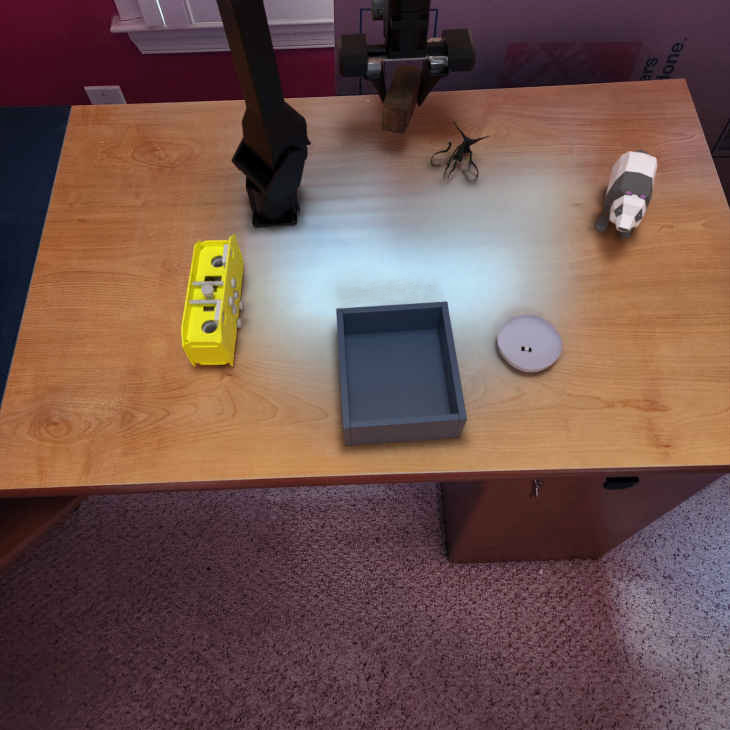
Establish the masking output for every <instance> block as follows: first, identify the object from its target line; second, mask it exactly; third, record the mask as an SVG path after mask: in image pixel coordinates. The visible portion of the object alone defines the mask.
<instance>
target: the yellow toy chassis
mask: <svg viewBox="0 0 730 730" xmlns="http://www.w3.org/2000/svg"><path fill="white" fill-rule="evenodd" d="M244 269H245V261H244V258H243V255H242V252H241V248H240V245H239V243H238V238H237V236H236V233H233V234H232V235H230V236H229V238H228V240H227V239H216V240H215V239H211V240H209V239H208V240H207V239H206V240H205V241H202V240H201V239H199V240H198V241H197V242H196V243H194V245H193V252H192V258H191V264H190V271H189V277H188V283H187V288H186V295H185V300H184V307H183V314H182V320H181V326H180V333H181V347H182V349H183V351H184V353H185V354H186V356H187V358H188V360H189V362H190V364H191V365H192V367H194V368H196V364H199V365H201V366H220V365H221V366H222V365H223V366H224V365H226V364H229V365H230V367H234V361H235V353H236V351H235V350H236V344H237V343H236V341H237V333H238V329H240V328H241V329H242V327H243V319H242V318H239V315H240V311H244V310H245V303H244V300H241V296H242V285H243V277H244Z"/></svg>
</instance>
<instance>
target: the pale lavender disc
mask: <svg viewBox="0 0 730 730" xmlns="http://www.w3.org/2000/svg"><path fill="white" fill-rule="evenodd" d="M496 345H497V349H498V352H499V354H500V355H501V356H502V358H503V359H504V360H505V361H506V362H507V363H508V364H509V365H510V366H512V367H513V368H514V369H516V370H519V371H521V372H525V373H539V372H541V371H543V370H546V369H547V368H549V367H551V366H552V365H553V364H554V363H556V361H557V360H558V359H559V358H560V356H561V354H562V351H563V340H562V337H561V335H560V333H559V332H558V330H557V329H556V327H554V325H552V324H551V323H550V322H549V321H548V320H546V319H545V318H542V317H540V316H538V315H535V314H528V313H527V314H526V313H525V314H519V315H516V316H513V317H511V318H510V319H508V320H506V321H505V322H504V323H503V324H502V325H501V327H500V328H499V330H498V332H497V336H496Z"/></svg>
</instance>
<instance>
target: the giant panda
mask: <svg viewBox="0 0 730 730" xmlns="http://www.w3.org/2000/svg"><path fill="white" fill-rule="evenodd" d="M657 171H658V159H657V157H656V156H652V155H651V154H649V153H648V152H647V151H645V150H643V149H638V150H636V151H631V150H627V152H625V153H623V154H621V155H620V156H619V157H618V159H617V160H616V161H615V163H614V164H613V166H612V169H611V172H610V176H609V181H608V184H607V187H606V190H605V192H604V194H603V204H602V208H601V211H600V213H599V215H598V217H597V220H596V222H595V225H594V230H595V231H597V232H599V233H605V231H606V230H607V228H608V225H609V222H611V223H612V224H614V225H615V228H616V230H617V231H618V236H619V237H620V238H622V239H627V240H628V239H630V237H631V235H632V233H633V230H634V229H635V228H638V227H639V225H640V223H641V222H642V220H643V218H644V217H645V215H646V212H647V210H648V207H649V205H650V203H651V200H652V197H653V191H654V183H655V178H656V174H657Z"/></svg>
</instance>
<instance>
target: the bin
mask: <svg viewBox="0 0 730 730" xmlns="http://www.w3.org/2000/svg"><path fill="white" fill-rule="evenodd" d="M449 309H450V308H449V303H448V301H433V302H431V301H430V302H417V303H416V302H415V303H402V304H401V303H399V304H384V305H383V304H382V305H369V306H356V307H355V306H354V307H339V308H338V307H337V308H336V309H335V315H336V330H337V331H336V332H337V333H336V334H337V346H338V347H337V350H338V367H339V382H340V385H339V386H340V400H341V401H340V402H341V419H342V433H343V441H344V446H346V447H347V446H360V445H375V444H386V443H387V444H388V443H401V442H402V443H403V442H417V441H429V440H445V439H459V438H461V436H462V433H463V431H464V428H465V425H466V423H467V421H468V417H467V411H466V405H465V399H464V392H463V386H462V381H461V374H460V369H459V363H458V357H457V351H456V346H455V345H456V344H455V339H454V333H453V326H452V321H451V314H450V310H449Z"/></svg>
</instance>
